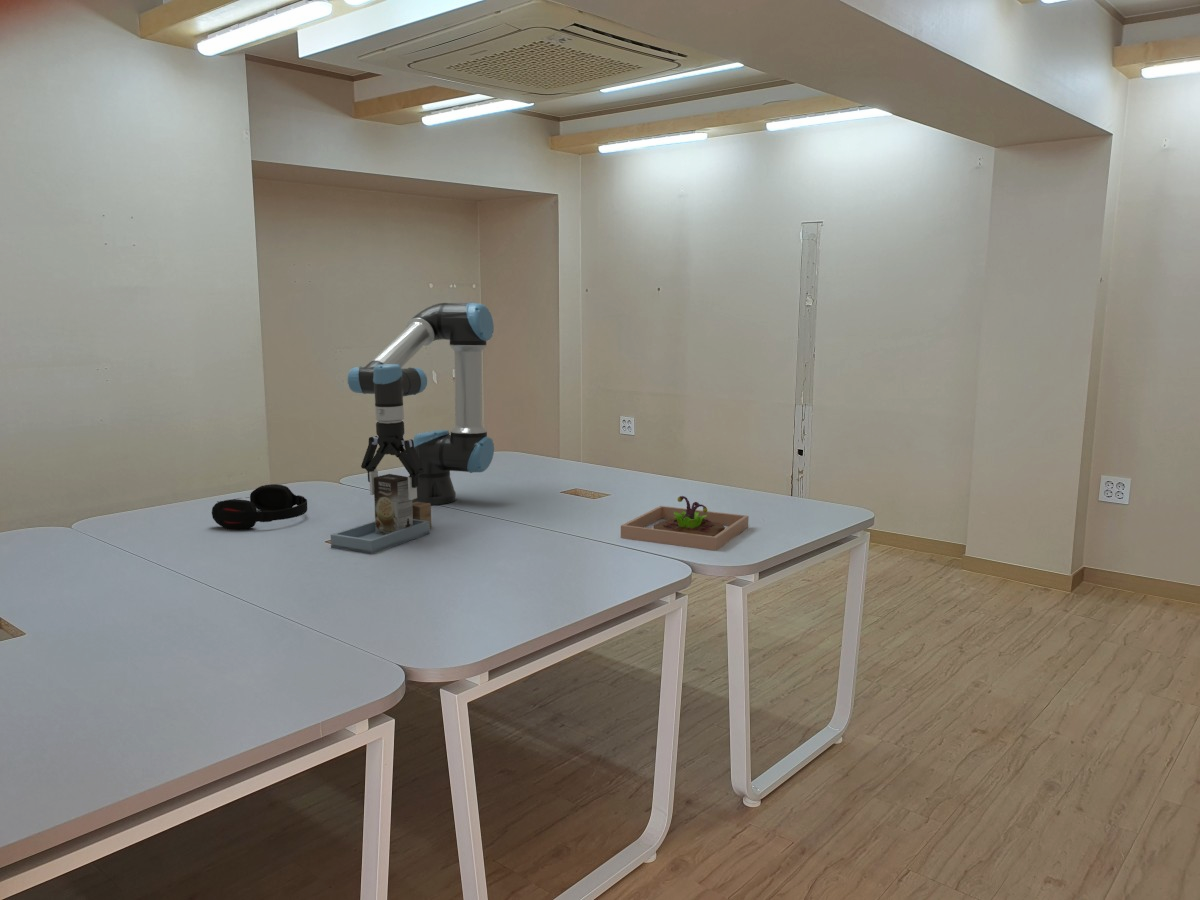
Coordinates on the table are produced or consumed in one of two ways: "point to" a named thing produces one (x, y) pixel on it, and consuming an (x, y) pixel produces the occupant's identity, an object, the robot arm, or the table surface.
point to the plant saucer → (638, 532)
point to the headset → (259, 508)
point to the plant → (690, 522)
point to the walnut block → (422, 511)
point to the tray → (376, 537)
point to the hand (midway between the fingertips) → (393, 496)
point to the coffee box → (392, 504)
